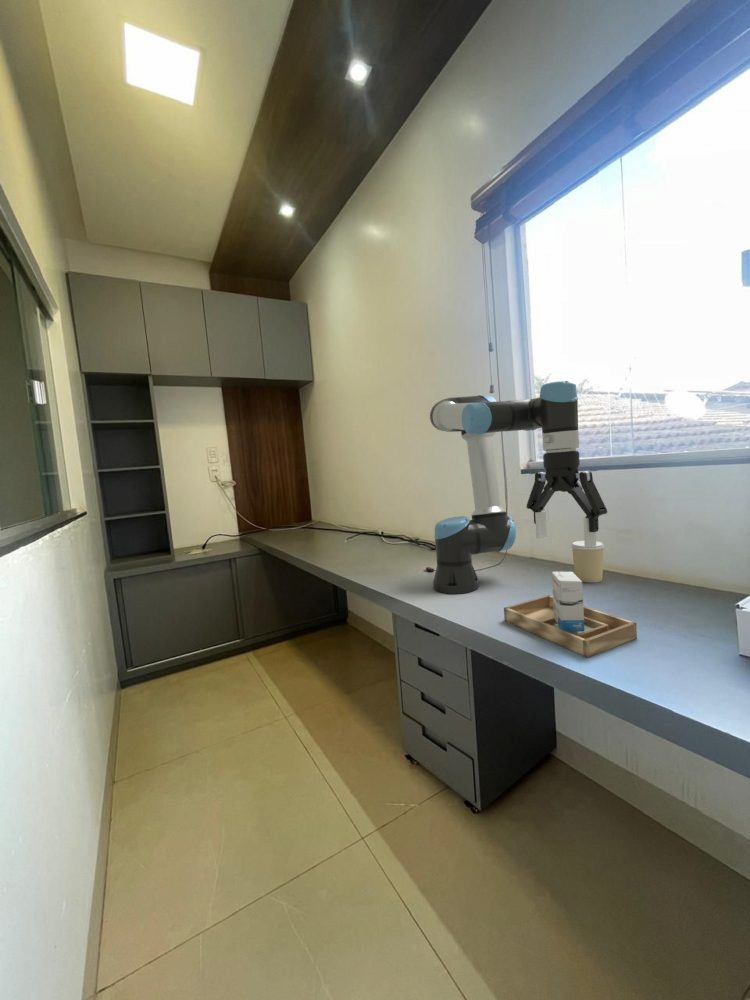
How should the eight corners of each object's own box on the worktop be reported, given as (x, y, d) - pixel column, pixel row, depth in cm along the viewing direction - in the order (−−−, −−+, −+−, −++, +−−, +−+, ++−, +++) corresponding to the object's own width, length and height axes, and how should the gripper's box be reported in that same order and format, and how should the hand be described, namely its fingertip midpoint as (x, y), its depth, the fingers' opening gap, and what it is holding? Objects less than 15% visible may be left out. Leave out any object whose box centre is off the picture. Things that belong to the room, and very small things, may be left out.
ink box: (585, 632, 89) (583, 580, 88) (561, 632, 90) (559, 581, 89) (574, 617, 97) (572, 570, 96) (553, 617, 98) (550, 571, 97)
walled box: (504, 620, 103) (503, 607, 103) (549, 607, 110) (548, 594, 110) (587, 657, 82) (586, 641, 81) (636, 638, 88) (636, 622, 88)
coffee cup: (601, 574, 134) (599, 540, 133) (608, 583, 125) (607, 546, 124) (570, 574, 137) (569, 540, 136) (575, 583, 128) (574, 546, 127)
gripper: (509, 454, 101) (513, 536, 103) (599, 448, 78) (602, 553, 80) (531, 452, 104) (535, 532, 106) (624, 446, 81) (627, 547, 83)
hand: (564, 541), depth 93 cm, fingers open, 13 cm apart
